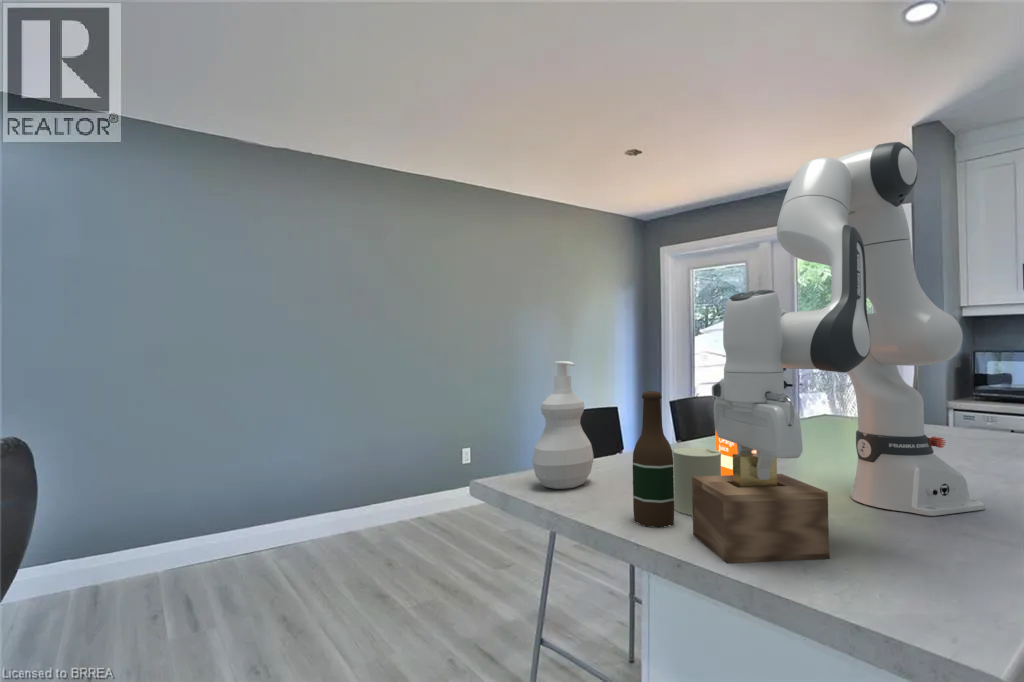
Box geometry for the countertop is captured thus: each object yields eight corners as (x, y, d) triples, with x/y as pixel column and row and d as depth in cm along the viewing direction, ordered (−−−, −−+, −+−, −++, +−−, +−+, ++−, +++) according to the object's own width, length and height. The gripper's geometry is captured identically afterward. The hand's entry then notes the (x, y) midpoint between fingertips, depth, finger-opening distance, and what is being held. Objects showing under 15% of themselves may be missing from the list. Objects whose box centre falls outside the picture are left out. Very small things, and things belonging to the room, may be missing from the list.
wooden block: (768, 483, 86) (767, 452, 86) (777, 487, 84) (776, 455, 84) (733, 484, 86) (732, 453, 86) (740, 488, 83) (740, 456, 84)
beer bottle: (627, 515, 101) (625, 390, 102) (666, 514, 102) (664, 389, 102) (640, 529, 94) (638, 393, 94) (682, 527, 94) (680, 392, 95)
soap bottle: (555, 496, 115) (553, 362, 116) (521, 486, 124) (519, 361, 124) (606, 483, 126) (604, 360, 126) (571, 475, 135) (569, 360, 135)
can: (727, 518, 99) (725, 454, 99) (676, 515, 101) (674, 452, 101) (718, 504, 108) (716, 445, 108) (671, 502, 110) (670, 444, 110)
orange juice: (715, 491, 118) (714, 401, 119) (748, 487, 121) (746, 400, 121) (740, 500, 111) (738, 405, 111) (774, 496, 113) (772, 403, 114)
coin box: (782, 531, 91) (781, 473, 92) (829, 558, 79) (827, 491, 80) (693, 535, 90) (691, 476, 90) (726, 563, 78) (725, 495, 78)
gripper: (813, 394, 75) (815, 492, 75) (740, 385, 96) (742, 462, 95) (771, 395, 75) (773, 493, 74) (706, 386, 95) (708, 463, 95)
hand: (755, 475), depth 85 cm, fingers closed on wooden block, 2 cm apart
